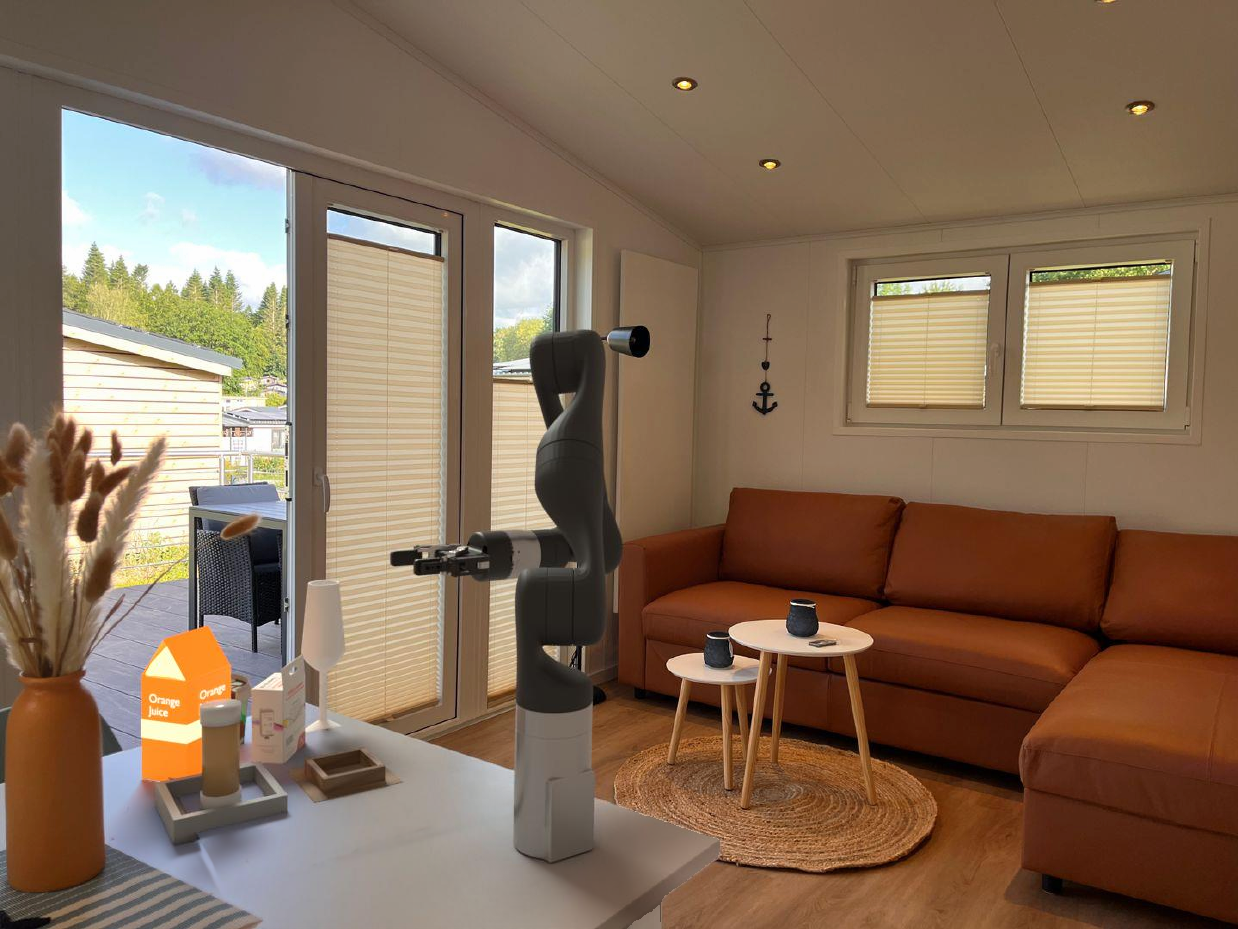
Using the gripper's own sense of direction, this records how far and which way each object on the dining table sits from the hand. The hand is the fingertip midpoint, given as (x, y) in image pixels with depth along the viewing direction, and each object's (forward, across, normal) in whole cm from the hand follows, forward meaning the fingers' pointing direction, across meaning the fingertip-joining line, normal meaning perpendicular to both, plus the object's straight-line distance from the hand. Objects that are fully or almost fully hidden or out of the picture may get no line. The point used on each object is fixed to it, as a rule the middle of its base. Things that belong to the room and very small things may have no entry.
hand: (402, 563), depth 127 cm
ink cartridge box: (+13, -14, +30) cm, 36 cm away
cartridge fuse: (+24, 0, +29) cm, 38 cm away
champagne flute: (+4, -22, +30) cm, 38 cm away
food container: (+18, -25, +30) cm, 43 cm away
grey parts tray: (+24, 0, +30) cm, 38 cm away
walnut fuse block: (+8, 0, +30) cm, 31 cm away
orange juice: (+25, -16, +30) cm, 42 cm away
